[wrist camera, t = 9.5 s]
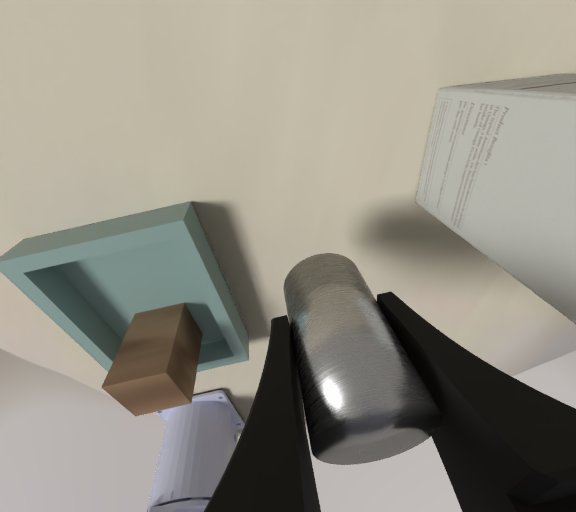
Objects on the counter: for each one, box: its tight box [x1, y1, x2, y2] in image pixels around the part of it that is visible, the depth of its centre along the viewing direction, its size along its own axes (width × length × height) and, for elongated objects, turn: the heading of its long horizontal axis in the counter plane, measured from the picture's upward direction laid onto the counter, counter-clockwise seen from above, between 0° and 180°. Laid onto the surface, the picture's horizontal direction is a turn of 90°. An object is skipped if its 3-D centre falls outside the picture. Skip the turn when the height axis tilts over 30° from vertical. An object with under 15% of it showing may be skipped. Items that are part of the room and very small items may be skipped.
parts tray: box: [0, 202, 249, 372], centre depth 20 cm, size 14×11×3 cm
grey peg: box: [284, 253, 442, 465], centre depth 11 cm, size 4×4×7 cm
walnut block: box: [102, 303, 203, 416], centre depth 20 cm, size 4×4×6 cm
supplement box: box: [415, 74, 576, 324], centre depth 12 cm, size 7×7×13 cm
